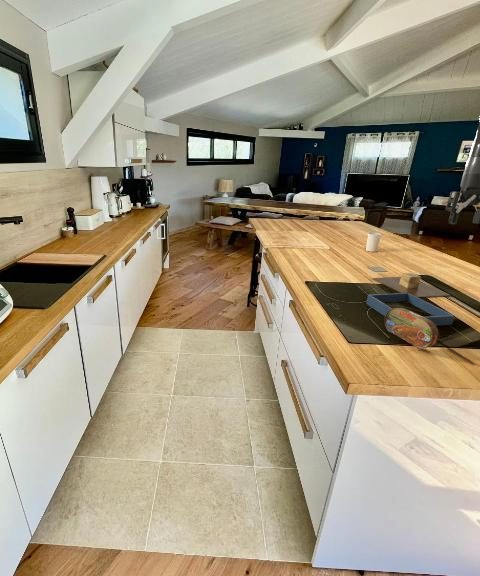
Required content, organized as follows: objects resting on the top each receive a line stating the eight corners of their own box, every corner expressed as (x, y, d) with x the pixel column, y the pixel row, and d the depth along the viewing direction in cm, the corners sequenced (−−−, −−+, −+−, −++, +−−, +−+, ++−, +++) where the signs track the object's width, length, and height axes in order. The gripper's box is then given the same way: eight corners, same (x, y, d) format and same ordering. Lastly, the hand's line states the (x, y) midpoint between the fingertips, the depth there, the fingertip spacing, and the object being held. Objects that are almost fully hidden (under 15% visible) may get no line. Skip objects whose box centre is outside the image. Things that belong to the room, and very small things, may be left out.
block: (409, 283, 128) (412, 273, 126) (418, 287, 123) (421, 276, 122) (399, 284, 127) (401, 273, 126) (407, 288, 123) (410, 277, 121)
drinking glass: (377, 252, 180) (381, 235, 176) (364, 251, 183) (367, 234, 179) (378, 249, 185) (381, 233, 182) (365, 248, 188) (368, 232, 185)
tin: (381, 328, 96) (387, 303, 93) (390, 327, 96) (395, 302, 93) (426, 355, 82) (434, 326, 79) (435, 353, 83) (444, 325, 80)
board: (406, 279, 137) (407, 276, 136) (449, 298, 116) (450, 295, 116) (372, 281, 135) (372, 278, 135) (409, 301, 115) (410, 297, 114)
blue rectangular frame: (405, 302, 113) (408, 292, 112) (451, 327, 95) (454, 315, 94) (365, 304, 112) (367, 294, 111) (404, 330, 94) (407, 318, 93)
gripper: (469, 172, 95) (454, 226, 101) (512, 171, 96) (494, 224, 102) (448, 172, 102) (435, 222, 108) (488, 171, 103) (473, 221, 109)
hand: (464, 223), depth 105 cm, fingers open, 8 cm apart
